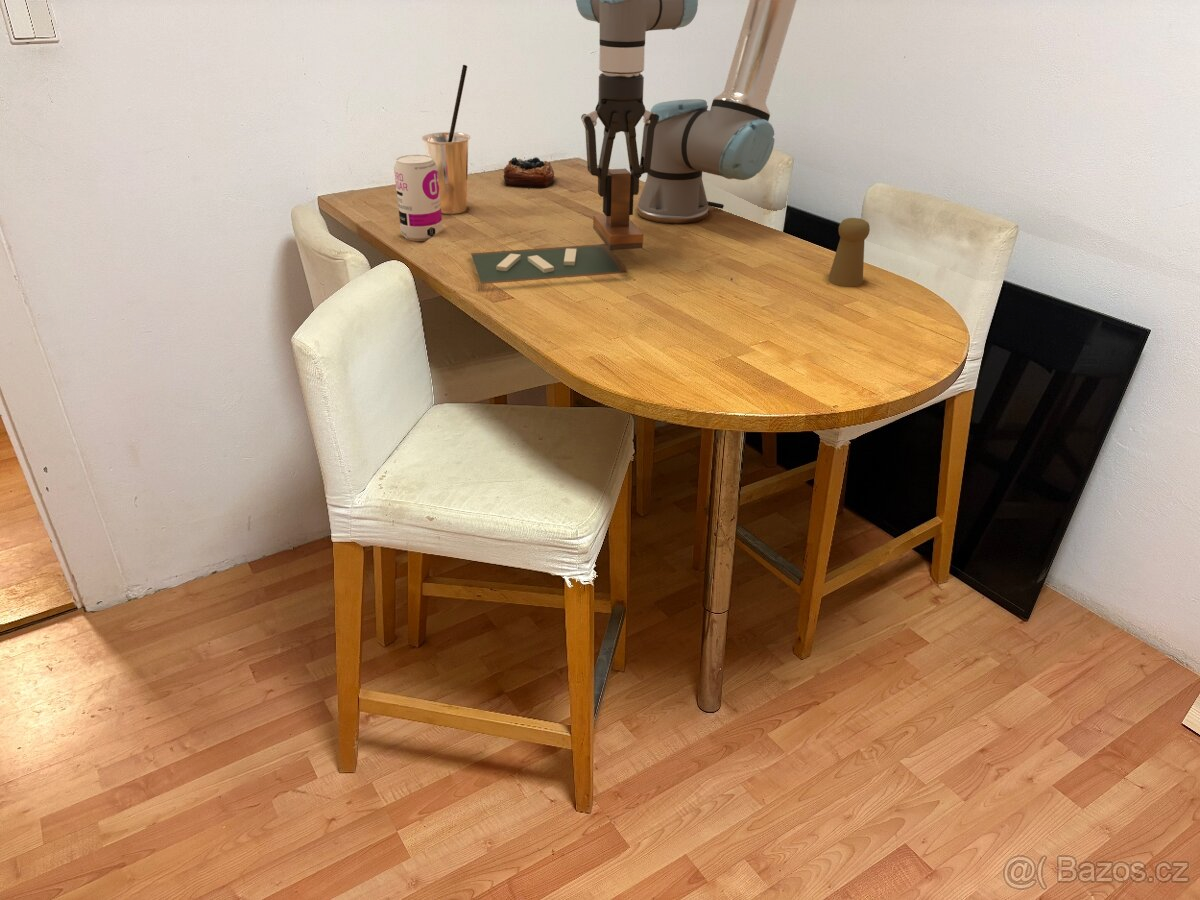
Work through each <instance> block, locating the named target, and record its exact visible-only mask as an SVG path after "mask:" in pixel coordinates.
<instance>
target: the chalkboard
mask: <svg viewBox="0 0 1200 900" xmlns="http://www.w3.org/2000/svg"><path fill="white" fill-rule="evenodd" d="M566 249H577V254H576V261H575V266H572V265H564V257H565V251H566ZM470 254H471V258H472V261H473V264H474V266H475V269H476V272H477V275H478V278H479V281H480V283H481V285H486V284H498V283H499V284H500V283H512V282H525V281H538V280H550V279H551V280H552V279H563V278H576V277H589V276H590V277H591V276H601V275H602V276H603V275H616V274H627V273H628V271H627V269H626V268H625V267H624V265H623V264H622V263H621V262H620V260H618V258H617V256H616V255H615V254H614V253H613V250H610V249H609V248H608V247H607V246H606V244H605V243H601V244H586V245H571V246H569V245H568V246H558V247H543V248H542V247H541V248H528V249H513V250H499V251H485V252H470ZM510 254H519V255H521V259H520V260H519V261H518V262H516V263H515V264H514V265H513V266H512V267H511V268H510V269H509V270H508V271H500V270H497V269H496V266H497V265H498V264H499V263H500V262H502V261H503V260H504V259H505V258H506V257H507V256H508V255H510ZM535 255H538V256H539V257H541V258H542V259H544V260H545V261H546V262H548V263H549V264H551V265H552V266H553V267H554V271H552V272H546V273H544V272H542V271H541V270H540V269H538V268H537V267H536V266H534V265H533V264H531V263H530V262H529V261H528V257H529V256H535Z"/></svg>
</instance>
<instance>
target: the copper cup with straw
mask: <svg viewBox="0 0 1200 900" xmlns="http://www.w3.org/2000/svg"><path fill="white" fill-rule="evenodd" d="M467 71H468V65H466V64H463V65H462V68H461V73H460V78H459V83H458V88H457V93H456V98H455V104H454V109H453V113H452V117H451V118H452V119H451V124H450V129H449V131H441V132H432V133H427V134H424V135H423V136H422V137H421V140H422V141H423V142H424V146H425V152H426V155H427V156H431V157H433V160H434V162H435V164H436V165H437V170H438V182H439V193H440V205H441V214H443V215H444V214H445V215H457V214H462V213H465V212H466V211H467V210H468V207H467V206H468V205H467V204H468V180H469V179H468V177H469V174H468V173H469V141H470V139H471V135H470V134H468V133H464V132H457V131H455V130H456V125H457V121H458V116H459V110H460V105H461V101H462V95H463V90H464V86H465V82H466V81H465V80H466V75H467Z"/></svg>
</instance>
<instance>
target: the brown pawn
mask: <svg viewBox="0 0 1200 900" xmlns="http://www.w3.org/2000/svg"><path fill="white" fill-rule="evenodd" d="M870 231H871V228H870V224H869V222H868V221H867V220H866V219H863V218H858V217H847V218H845V219H843V220H842V221H840V223H839V225H838V235H839V237H840V238H839V242H838V244H837V248H836V251H835V255H834V257H833V260H832V264H831V267H830V271H829V274H828V277H827V279H828V280H827V281H829V283H832V284H834V285H836V286H840V287H847V288H849V287H853V288H854V287H859V286H861V285H862V284H863V282H864V262H865V261H864V259H865V240H866V239H867V238H868V237H869V234H870Z"/></svg>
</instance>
